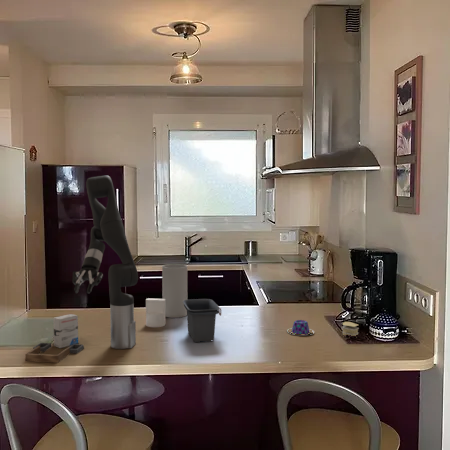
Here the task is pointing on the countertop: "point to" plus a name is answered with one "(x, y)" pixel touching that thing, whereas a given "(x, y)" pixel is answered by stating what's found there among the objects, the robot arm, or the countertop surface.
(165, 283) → the cylinder vase
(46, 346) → the trap pits
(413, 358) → the countertop surface
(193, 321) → the storage bin
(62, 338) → the ink box
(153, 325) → the cylinder with rectangular tab
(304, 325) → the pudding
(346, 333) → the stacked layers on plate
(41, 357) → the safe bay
